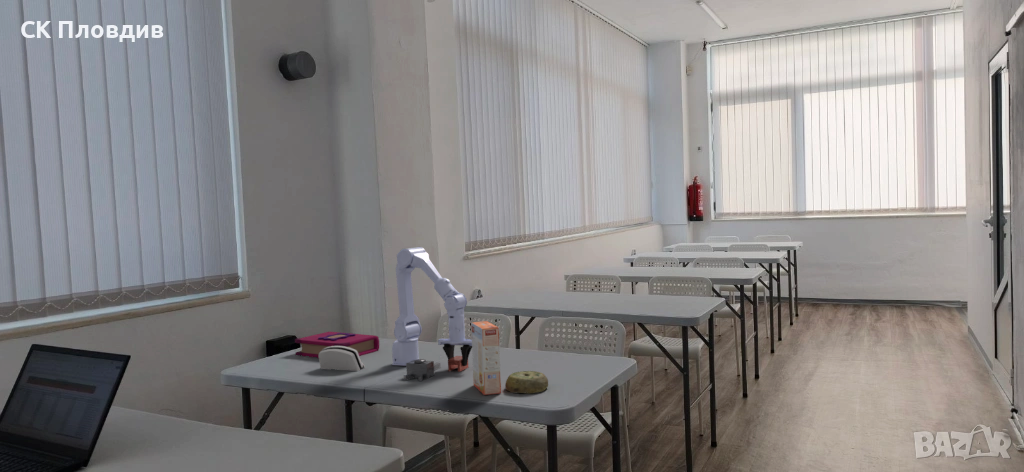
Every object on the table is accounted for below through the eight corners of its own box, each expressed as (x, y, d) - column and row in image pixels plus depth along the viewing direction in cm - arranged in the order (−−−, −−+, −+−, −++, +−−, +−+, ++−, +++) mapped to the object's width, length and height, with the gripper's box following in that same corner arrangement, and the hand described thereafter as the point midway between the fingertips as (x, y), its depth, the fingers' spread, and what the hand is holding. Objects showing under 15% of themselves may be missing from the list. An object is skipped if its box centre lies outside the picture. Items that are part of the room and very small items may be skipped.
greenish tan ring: (557, 389, 220) (556, 373, 219) (522, 397, 212) (522, 381, 212) (531, 381, 231) (530, 366, 231) (497, 389, 223) (496, 373, 223)
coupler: (429, 366, 257) (428, 351, 257) (448, 368, 254) (447, 352, 254) (402, 379, 239) (401, 363, 239) (422, 381, 236) (421, 364, 236)
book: (332, 346, 306) (331, 329, 306) (379, 351, 291) (379, 333, 291) (294, 356, 288) (293, 338, 288) (342, 362, 273) (341, 342, 273)
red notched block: (448, 371, 249) (447, 360, 249) (457, 366, 256) (456, 355, 255) (459, 371, 247) (459, 360, 247) (468, 367, 254) (468, 356, 254)
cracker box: (502, 393, 216) (499, 326, 215) (483, 396, 215) (480, 328, 214) (490, 383, 230) (488, 320, 229) (473, 385, 228) (470, 321, 227)
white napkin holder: (366, 367, 260) (359, 344, 256) (359, 374, 256) (353, 351, 252) (328, 365, 266) (321, 342, 262) (321, 372, 262) (314, 349, 258)
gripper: (433, 329, 250) (435, 366, 250) (470, 330, 244) (471, 368, 245) (442, 325, 256) (444, 362, 257) (478, 326, 251) (480, 364, 251)
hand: (458, 365), depth 251 cm, fingers closed on red notched block, 5 cm apart
